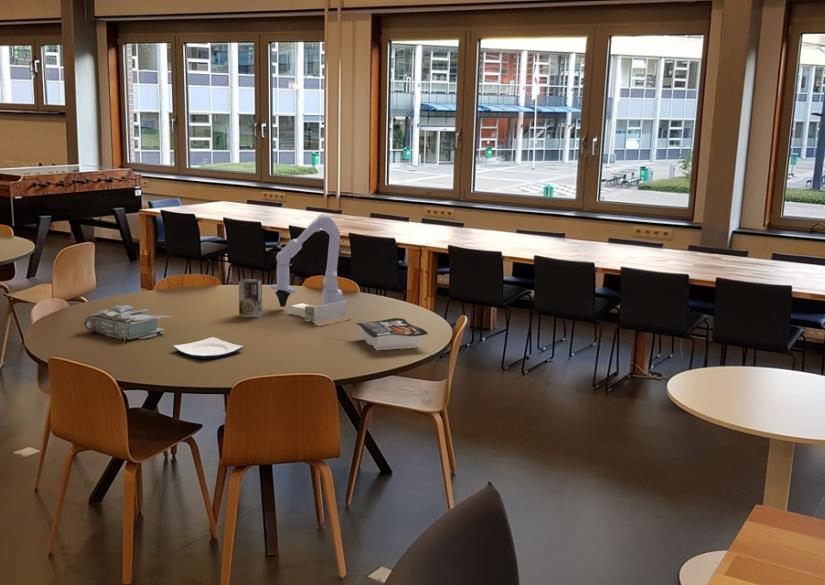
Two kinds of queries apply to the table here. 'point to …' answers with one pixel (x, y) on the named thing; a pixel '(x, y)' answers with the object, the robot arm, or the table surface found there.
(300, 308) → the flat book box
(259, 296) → the coffee box
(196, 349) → the plate
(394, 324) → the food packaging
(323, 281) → the robot arm
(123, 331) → the ornate clasped book
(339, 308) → the metal bookend
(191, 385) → the table surface
